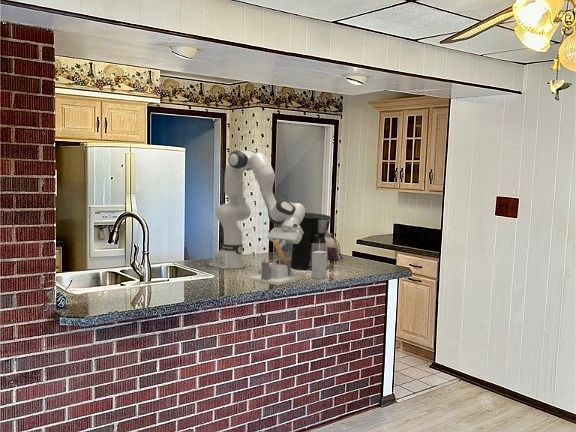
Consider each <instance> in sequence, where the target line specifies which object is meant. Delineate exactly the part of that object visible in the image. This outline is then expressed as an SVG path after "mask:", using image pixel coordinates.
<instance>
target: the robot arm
mask: <svg viewBox="0 0 576 432" xmlns="http://www.w3.org/2000/svg"><path fill="white" fill-rule="evenodd" d="M229 153H230V154H229V156H228V162H227V164H226V165H225V171H224V195H226V196H227V198H228V200H229V203H223V204H220V205H218V206H217V207H216V209H215V217H216V219H217V220H218V221H219V222H220V224H221V226H222V229H223V243H222V244H221V245H220V248H221V249H220V250H219V251H218V252H216V253H214V255H213V258H212V261H211V262H210V263H208V266H210V267H214V268H218V269H223V270H225V269H228V270H229V269H231V270H232V269H243V268H245V264H244V260H243V245H244V244H243V231H242V229H241V228H239V226H238V221H239V222H240V221H244V220H247V219H248V218H250V216H251V213H252V210H251V207H250V205H249V204H248V203H247V202H246V200H245V196H244V185H243V184H244V176H243V175H244V172H245V171H247V172H248V171H251V170H252V172H253V174H254V177H255V179H256V181H257V183H258V187H259V190H260V193H261V196H262V198H263V200H264V203H265V206H266V209H267V216H268V219H269V221H270V222H271V223H272V224H275V225H281V226H275V227H273V228H272V229H271V230H269V233H268V234H267V239H268V240H269V241H270V242H272V241H273V240H275V241H278V243H279V245H280V247H281V249H282V248H283V247H284V246H285V245H286V244H292V245H293V244H298V243H299V242H300V240H301V238H302V235H303V233H304V232H303V230H302V228H301V227H300V226H299V224H300V223H301V222H302V220H303V218H304V216H305V213H307V212H306V207H305V206H304V205H303V204H301V203H299V202H291V201H289V200H287V199H284V198H283V199H278V200H276V198H275V195H274V192H273V187H274V183H275V180H276V174H275V170H274V169H273V167H272V165H271V163H270V160H268V158H267V157H266V155H265V154H264V153H262V152H261V151H260V152H255V151H252V150H251V151H250V150H247V149H246V150H234V151H232V152H229Z"/></svg>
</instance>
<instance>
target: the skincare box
mask: <svg viewBox="0 0 576 432" xmlns="http://www.w3.org/2000/svg"><path fill="white" fill-rule="evenodd" d="M327 265H328V262H327V252H326V251H315V252H312V270H311V278H312V279H318V280H322V279H325V278H327V277H328V276H327V274H328V268H327Z"/></svg>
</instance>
